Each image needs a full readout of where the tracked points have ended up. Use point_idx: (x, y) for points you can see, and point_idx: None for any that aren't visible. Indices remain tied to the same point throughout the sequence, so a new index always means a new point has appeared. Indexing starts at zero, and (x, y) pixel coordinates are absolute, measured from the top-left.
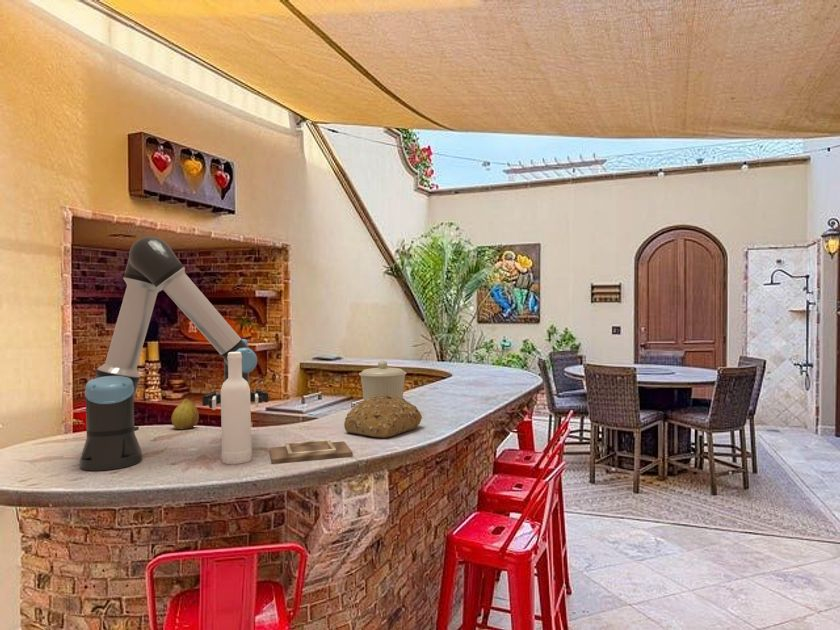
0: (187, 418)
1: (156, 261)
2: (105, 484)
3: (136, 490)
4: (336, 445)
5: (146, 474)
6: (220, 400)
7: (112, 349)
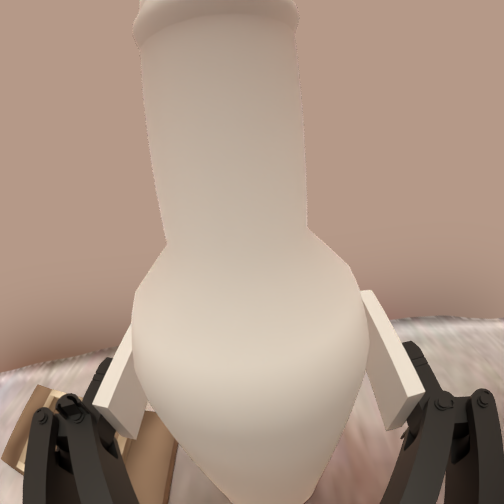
0: None
1: None
2: (478, 342)
3: (415, 319)
4: (24, 442)
5: (455, 389)
6: (386, 499)
7: None
